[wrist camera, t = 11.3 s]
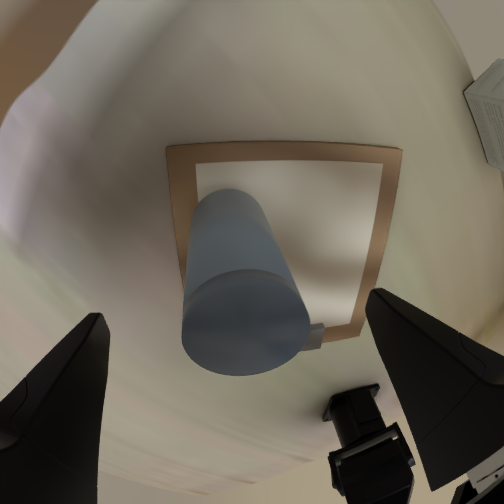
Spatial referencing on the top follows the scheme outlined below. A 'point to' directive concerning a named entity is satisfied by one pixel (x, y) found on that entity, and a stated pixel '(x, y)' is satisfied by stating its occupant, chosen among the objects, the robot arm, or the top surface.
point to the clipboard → (303, 214)
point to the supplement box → (489, 111)
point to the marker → (239, 290)
